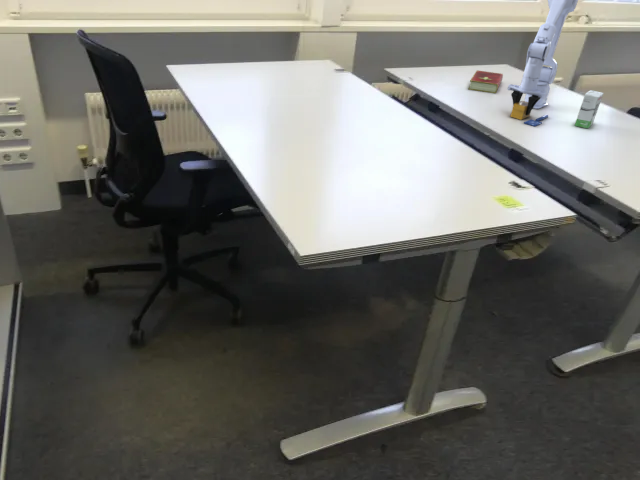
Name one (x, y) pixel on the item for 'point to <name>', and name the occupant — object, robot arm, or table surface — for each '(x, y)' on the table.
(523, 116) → the block
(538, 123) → the spatula
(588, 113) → the ink box
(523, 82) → the robot arm
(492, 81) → the hardcover book
